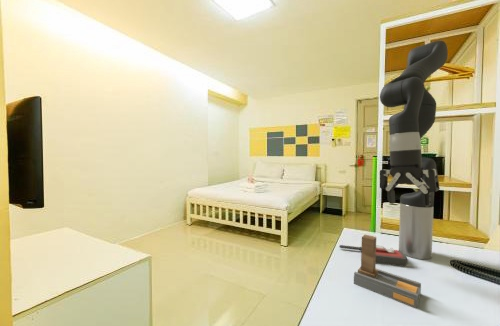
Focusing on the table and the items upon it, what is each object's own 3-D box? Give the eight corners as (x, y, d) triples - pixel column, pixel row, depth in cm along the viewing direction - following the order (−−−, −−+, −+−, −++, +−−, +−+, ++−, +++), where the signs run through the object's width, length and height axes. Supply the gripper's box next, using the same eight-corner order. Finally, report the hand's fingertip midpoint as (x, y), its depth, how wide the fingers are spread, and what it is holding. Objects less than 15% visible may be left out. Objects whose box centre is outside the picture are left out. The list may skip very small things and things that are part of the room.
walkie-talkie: (401, 255, 75) (338, 248, 81) (401, 243, 75) (339, 236, 81) (412, 268, 67) (341, 259, 73) (412, 254, 67) (342, 246, 72)
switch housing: (362, 273, 64) (362, 263, 64) (420, 293, 54) (421, 282, 54) (353, 283, 59) (353, 273, 58) (416, 308, 49) (416, 296, 49)
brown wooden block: (362, 267, 62) (363, 233, 62) (378, 273, 59) (379, 237, 59) (357, 273, 59) (358, 237, 59) (374, 279, 57) (375, 241, 56)
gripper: (440, 146, 60) (444, 206, 60) (385, 151, 72) (388, 200, 72) (429, 147, 56) (433, 210, 56) (373, 151, 68) (376, 203, 68)
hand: (408, 204), depth 64 cm, fingers open, 8 cm apart
